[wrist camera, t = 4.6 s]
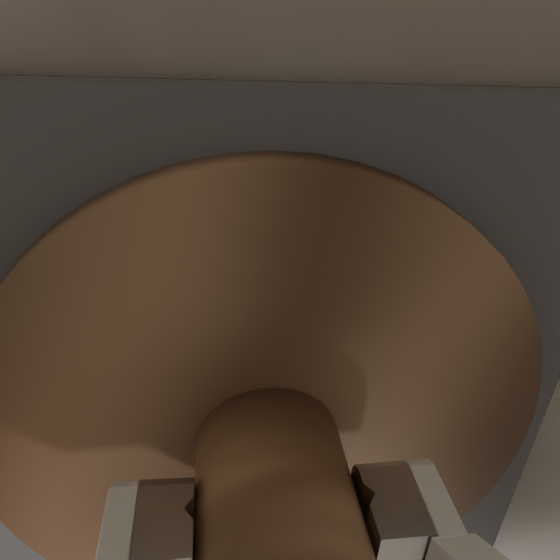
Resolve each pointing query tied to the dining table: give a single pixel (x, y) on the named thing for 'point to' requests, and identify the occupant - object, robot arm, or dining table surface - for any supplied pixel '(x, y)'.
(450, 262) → the lid
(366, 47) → the dining table surface
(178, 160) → the mat
